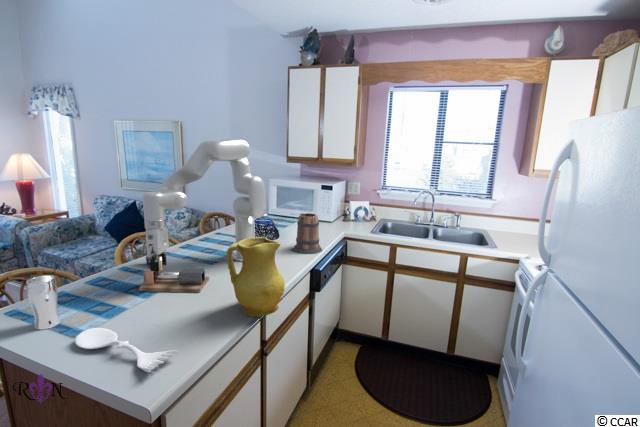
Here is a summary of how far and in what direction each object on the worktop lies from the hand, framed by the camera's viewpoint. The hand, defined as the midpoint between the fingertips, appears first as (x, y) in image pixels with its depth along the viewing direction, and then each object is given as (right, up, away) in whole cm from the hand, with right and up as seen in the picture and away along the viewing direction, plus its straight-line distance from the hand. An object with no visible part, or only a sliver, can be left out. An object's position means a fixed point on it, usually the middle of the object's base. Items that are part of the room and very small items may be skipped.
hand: (158, 267), depth 130 cm
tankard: (+58, +2, +57) cm, 81 cm away
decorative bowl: (+28, +6, +76) cm, 82 cm away
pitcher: (+42, -12, -13) cm, 46 cm away
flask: (-13, -3, +24) cm, 27 cm away
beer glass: (-20, -13, -29) cm, 38 cm away
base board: (+6, -8, +2) cm, 10 cm away
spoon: (+10, -17, -41) cm, 45 cm away
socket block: (-3, -6, +1) cm, 7 cm away
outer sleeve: (+13, -6, +2) cm, 14 cm away
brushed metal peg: (+3, -5, +1) cm, 6 cm away
